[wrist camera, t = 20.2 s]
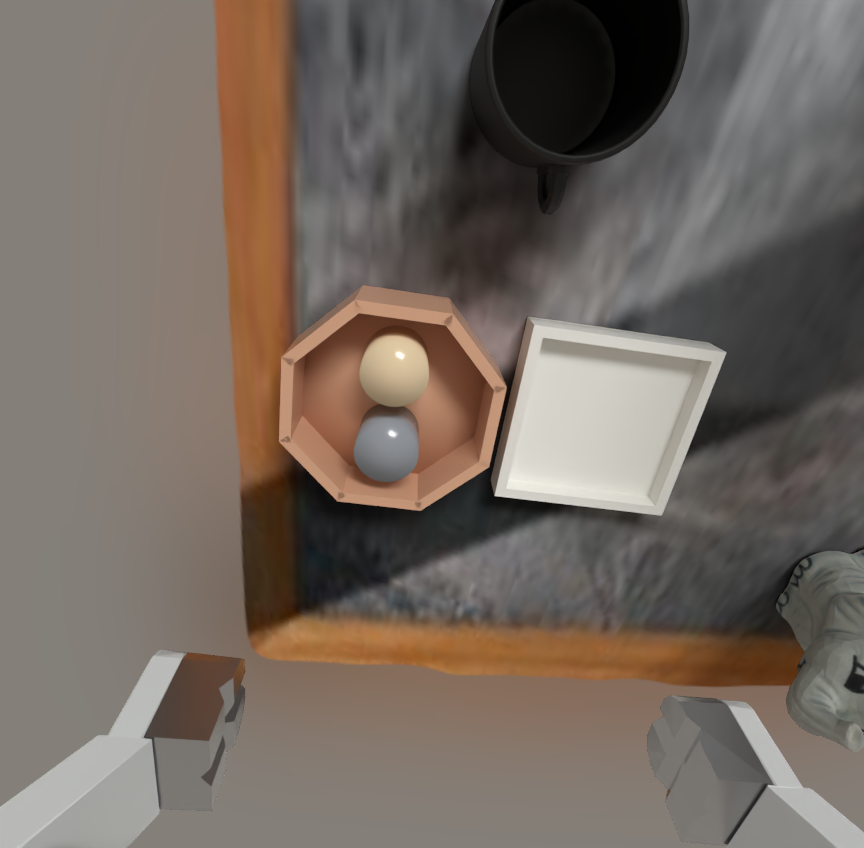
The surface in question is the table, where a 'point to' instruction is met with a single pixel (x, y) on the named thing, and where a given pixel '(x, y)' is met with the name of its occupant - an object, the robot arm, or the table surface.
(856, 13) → the table surface
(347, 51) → the table surface
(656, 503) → the tray
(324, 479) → the bowl
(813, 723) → the teapot
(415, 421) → the slate pebble
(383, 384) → the sand pebble
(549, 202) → the mug
